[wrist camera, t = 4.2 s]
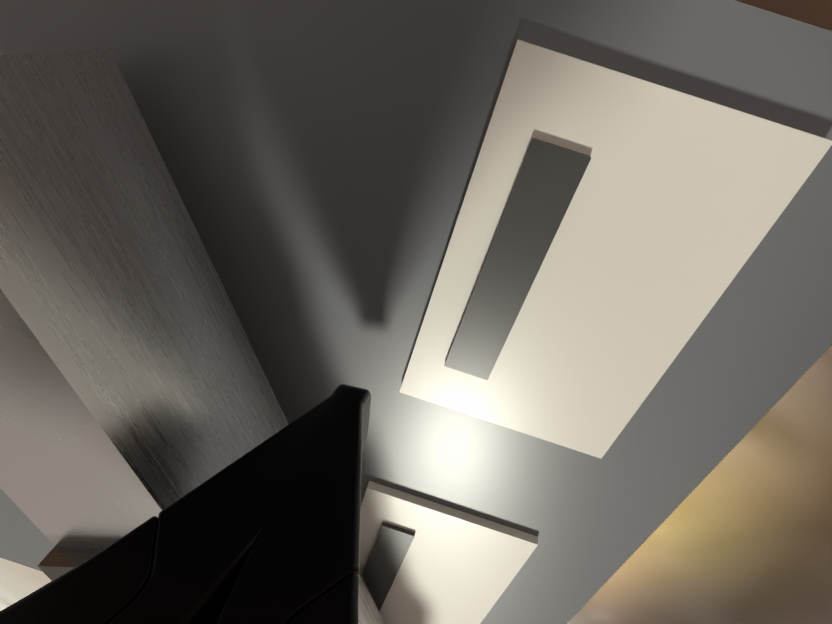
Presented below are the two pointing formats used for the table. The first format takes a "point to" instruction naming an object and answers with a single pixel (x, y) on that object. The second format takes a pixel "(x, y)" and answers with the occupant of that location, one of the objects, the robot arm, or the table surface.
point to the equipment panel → (495, 254)
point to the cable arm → (109, 318)
